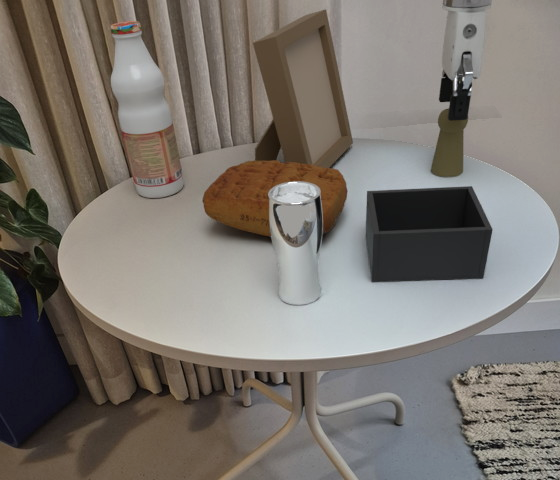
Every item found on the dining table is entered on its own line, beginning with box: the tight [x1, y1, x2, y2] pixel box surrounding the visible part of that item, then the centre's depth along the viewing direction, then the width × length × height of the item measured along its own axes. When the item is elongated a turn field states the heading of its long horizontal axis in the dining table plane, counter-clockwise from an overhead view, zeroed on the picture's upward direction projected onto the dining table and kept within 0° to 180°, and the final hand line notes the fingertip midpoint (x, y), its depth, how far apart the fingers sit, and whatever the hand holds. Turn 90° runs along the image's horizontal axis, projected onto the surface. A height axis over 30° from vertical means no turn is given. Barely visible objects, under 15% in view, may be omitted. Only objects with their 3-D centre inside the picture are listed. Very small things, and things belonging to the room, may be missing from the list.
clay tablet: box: [202, 160, 348, 238], centre depth 95 cm, size 22×17×8 cm
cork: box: [429, 107, 469, 178], centre depth 105 cm, size 6×6×11 cm
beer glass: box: [268, 181, 324, 306], centre depth 76 cm, size 7×7×15 cm
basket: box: [365, 185, 494, 283], centre depth 84 cm, size 16×14×8 cm
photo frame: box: [252, 8, 354, 168], centre depth 108 cm, size 15×22×25 cm
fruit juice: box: [110, 20, 185, 199], centre depth 103 cm, size 9×9×28 cm
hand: (452, 110), depth 102 cm, fingers open, 9 cm apart
